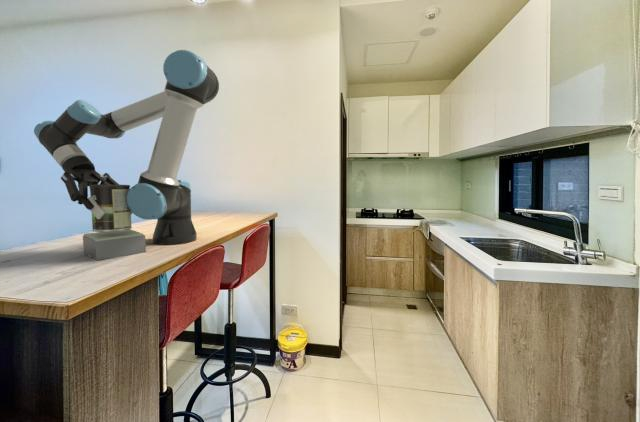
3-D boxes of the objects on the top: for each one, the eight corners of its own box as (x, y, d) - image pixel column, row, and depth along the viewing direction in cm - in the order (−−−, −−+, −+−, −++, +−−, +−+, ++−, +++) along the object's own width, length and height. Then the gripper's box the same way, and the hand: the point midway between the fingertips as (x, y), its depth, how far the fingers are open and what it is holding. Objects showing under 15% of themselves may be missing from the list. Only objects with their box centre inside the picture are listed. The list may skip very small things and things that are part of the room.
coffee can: (92, 233, 84) (89, 185, 82) (91, 228, 92) (88, 184, 90) (134, 230, 90) (132, 185, 89) (130, 225, 98) (127, 184, 97)
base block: (130, 245, 101) (129, 228, 100) (145, 252, 93) (144, 233, 92) (83, 252, 91) (82, 233, 90) (96, 260, 83) (95, 240, 82)
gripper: (102, 171, 103) (141, 217, 102) (26, 169, 82) (73, 227, 80) (113, 157, 102) (153, 203, 100) (39, 150, 80) (87, 209, 78)
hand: (117, 214), depth 90 cm, fingers closed on coffee can, 10 cm apart
